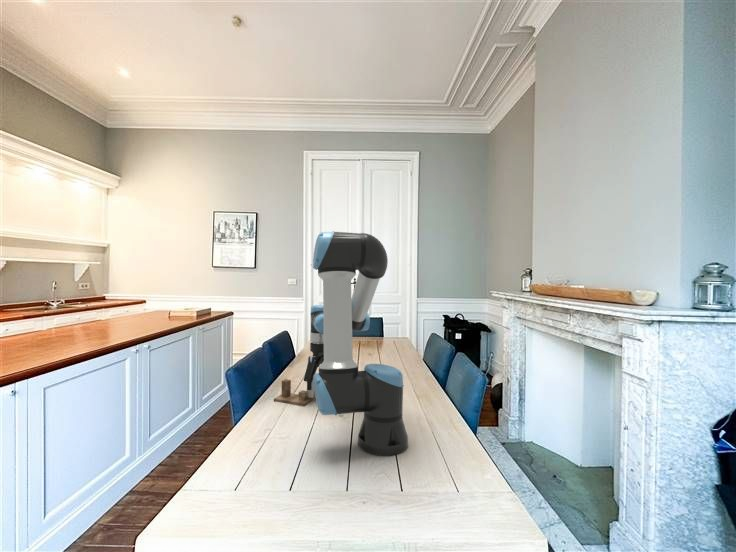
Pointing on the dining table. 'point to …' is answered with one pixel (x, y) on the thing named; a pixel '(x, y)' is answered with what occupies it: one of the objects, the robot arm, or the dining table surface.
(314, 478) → the dining table surface
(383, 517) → the dining table surface
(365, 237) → the robot arm
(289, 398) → the peg stand
